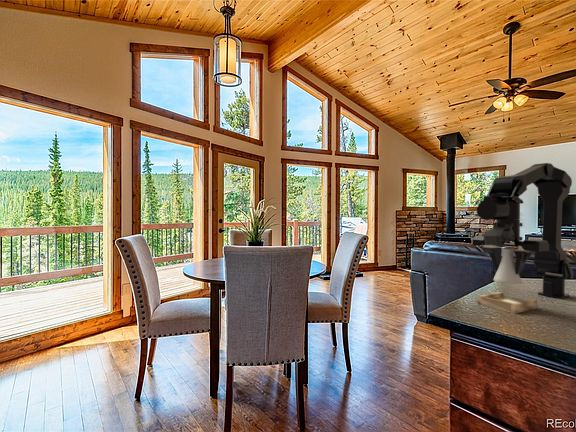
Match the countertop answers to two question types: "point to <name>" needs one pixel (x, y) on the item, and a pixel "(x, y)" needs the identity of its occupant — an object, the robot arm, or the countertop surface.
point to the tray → (506, 302)
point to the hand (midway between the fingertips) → (507, 272)
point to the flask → (507, 269)
